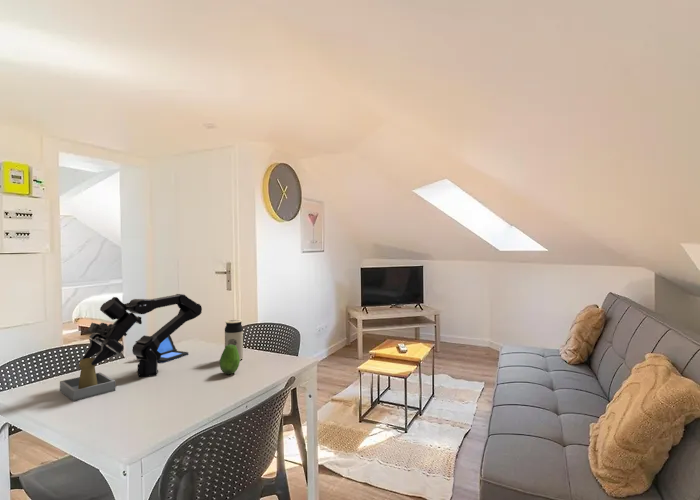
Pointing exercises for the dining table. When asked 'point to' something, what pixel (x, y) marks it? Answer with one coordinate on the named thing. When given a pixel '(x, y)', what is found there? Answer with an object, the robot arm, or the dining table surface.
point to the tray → (76, 394)
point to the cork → (87, 373)
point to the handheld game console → (169, 351)
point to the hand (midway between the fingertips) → (87, 362)
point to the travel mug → (234, 335)
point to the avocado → (229, 359)
